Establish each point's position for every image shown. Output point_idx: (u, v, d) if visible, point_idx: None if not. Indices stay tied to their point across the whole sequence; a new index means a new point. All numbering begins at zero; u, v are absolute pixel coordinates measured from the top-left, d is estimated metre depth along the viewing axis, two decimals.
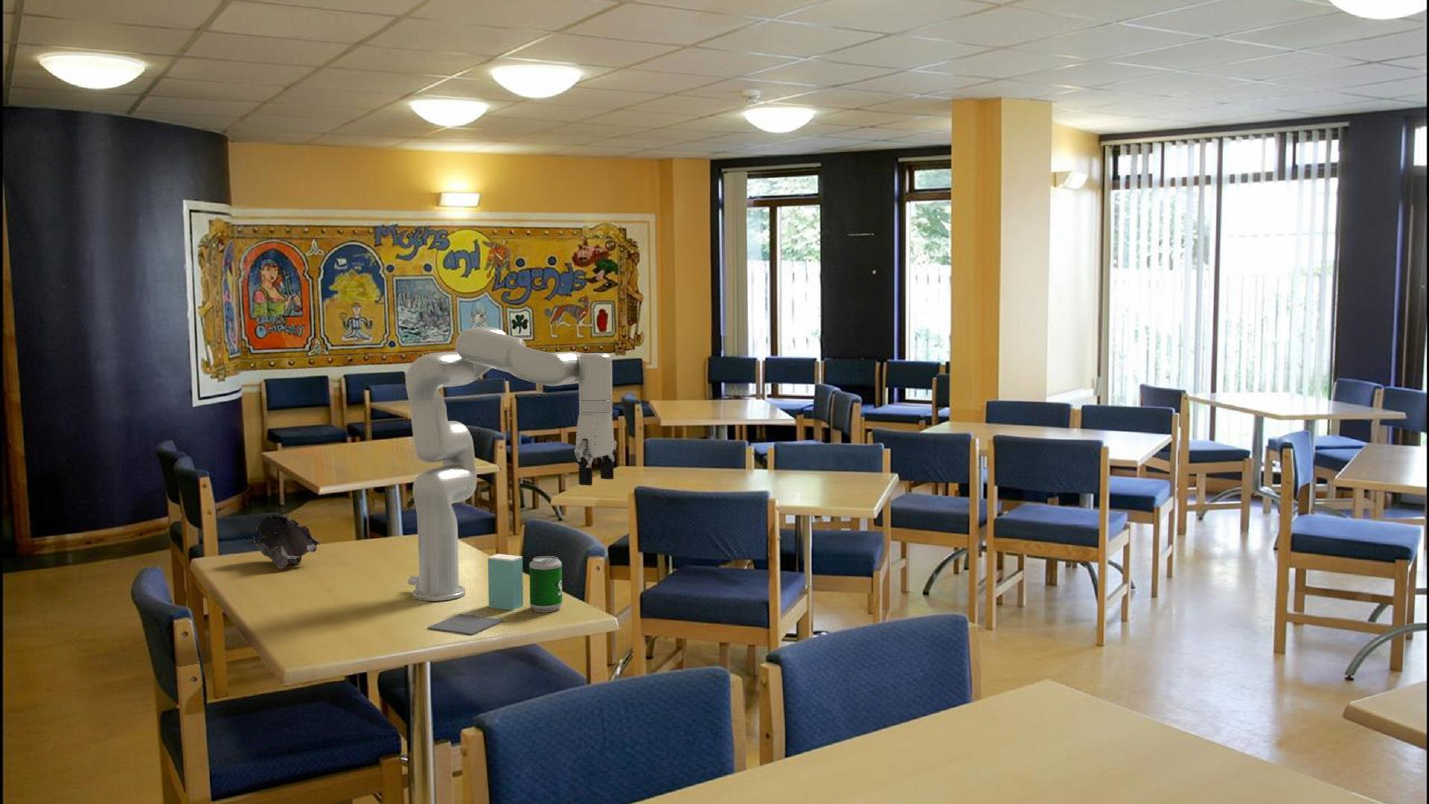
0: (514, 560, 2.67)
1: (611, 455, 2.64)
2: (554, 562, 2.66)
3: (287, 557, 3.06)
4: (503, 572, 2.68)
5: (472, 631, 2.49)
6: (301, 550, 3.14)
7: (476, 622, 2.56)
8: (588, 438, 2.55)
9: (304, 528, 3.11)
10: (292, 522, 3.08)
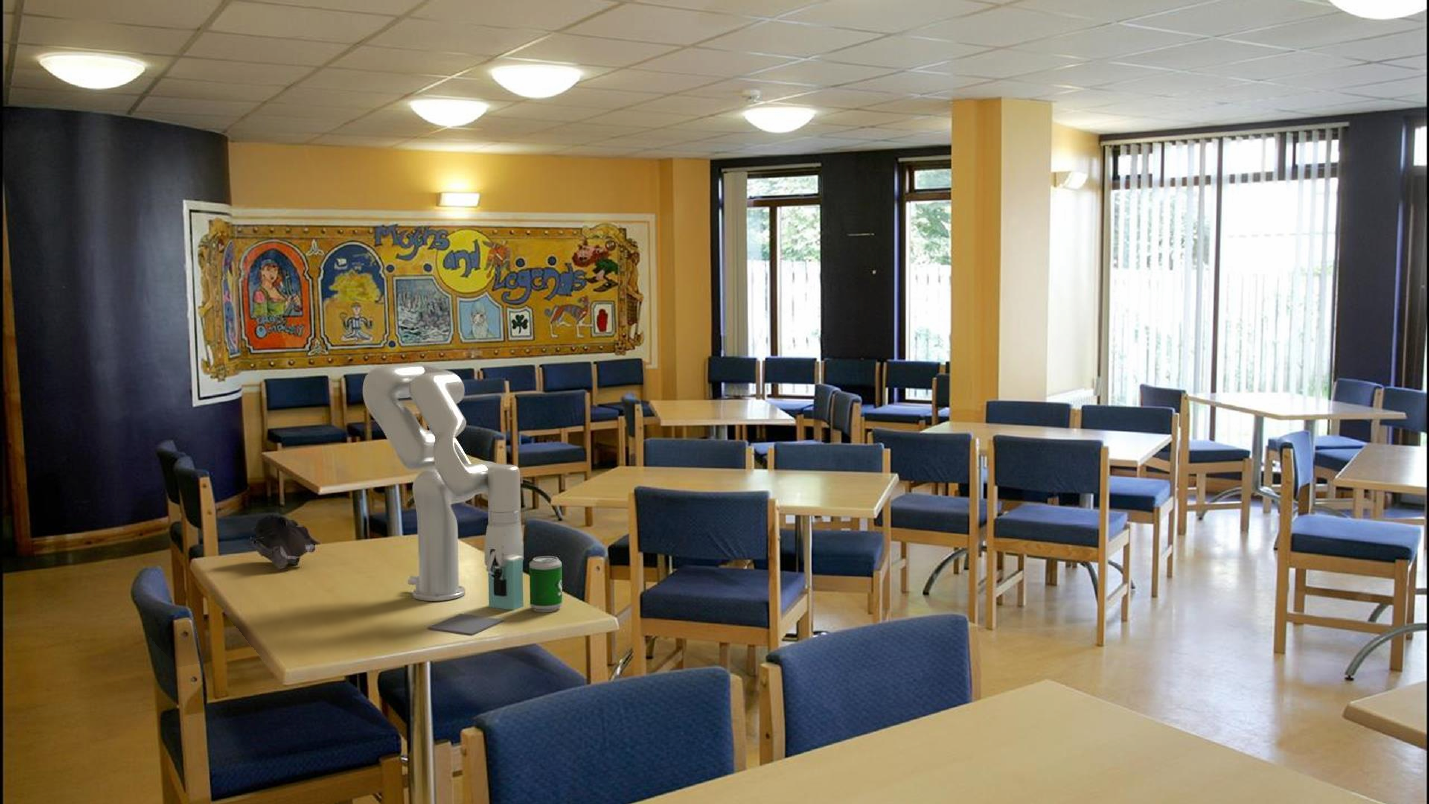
0: (514, 560, 2.67)
1: None
2: (554, 562, 2.66)
3: (287, 557, 3.06)
4: None
5: (472, 631, 2.49)
6: (299, 550, 3.13)
7: (476, 622, 2.56)
8: (496, 548, 2.65)
9: (303, 528, 3.10)
10: (291, 523, 3.08)
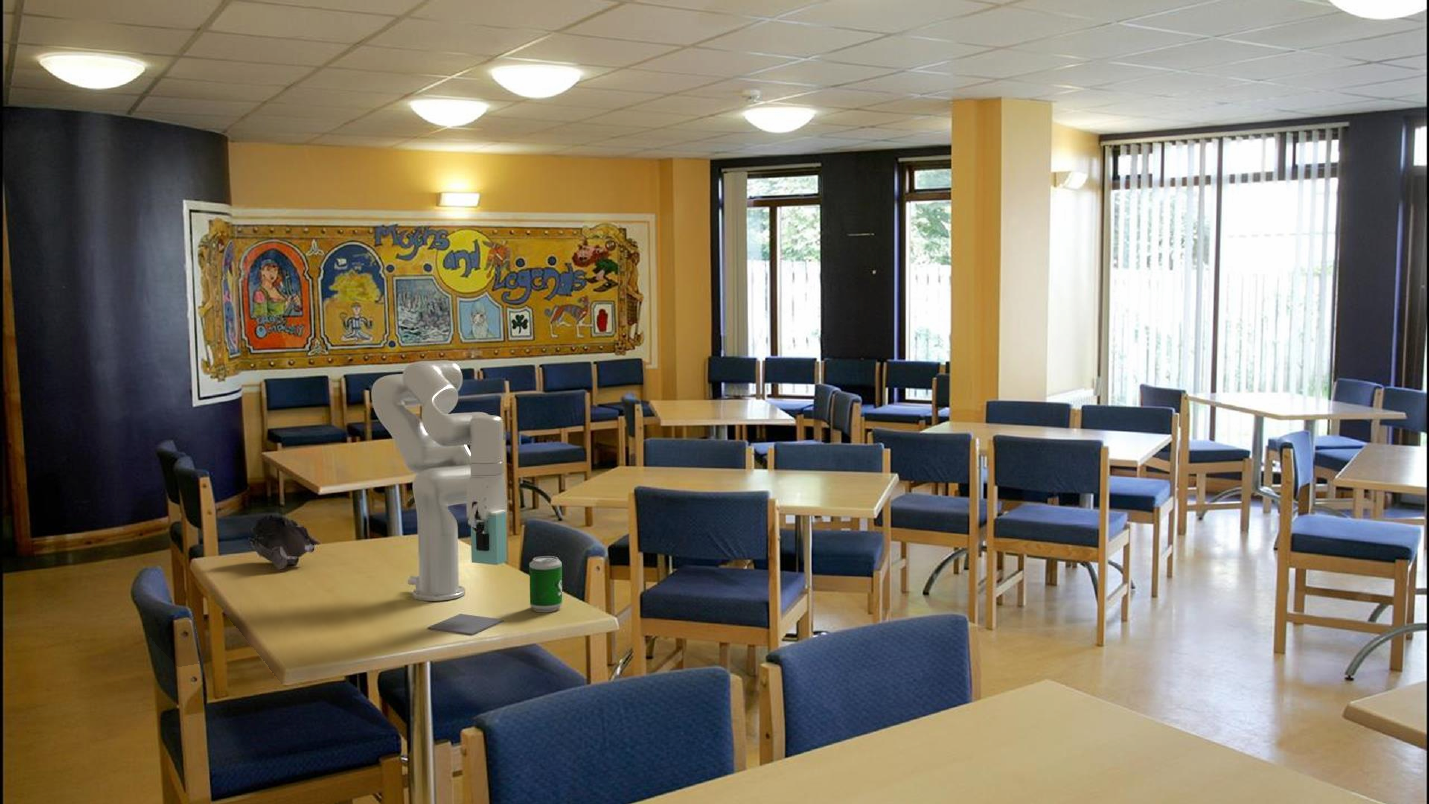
0: (497, 513, 2.58)
1: None
2: (554, 562, 2.66)
3: (286, 557, 3.06)
4: None
5: (472, 631, 2.49)
6: (299, 550, 3.13)
7: (476, 622, 2.56)
8: (478, 501, 2.56)
9: (302, 528, 3.10)
10: (290, 523, 3.08)
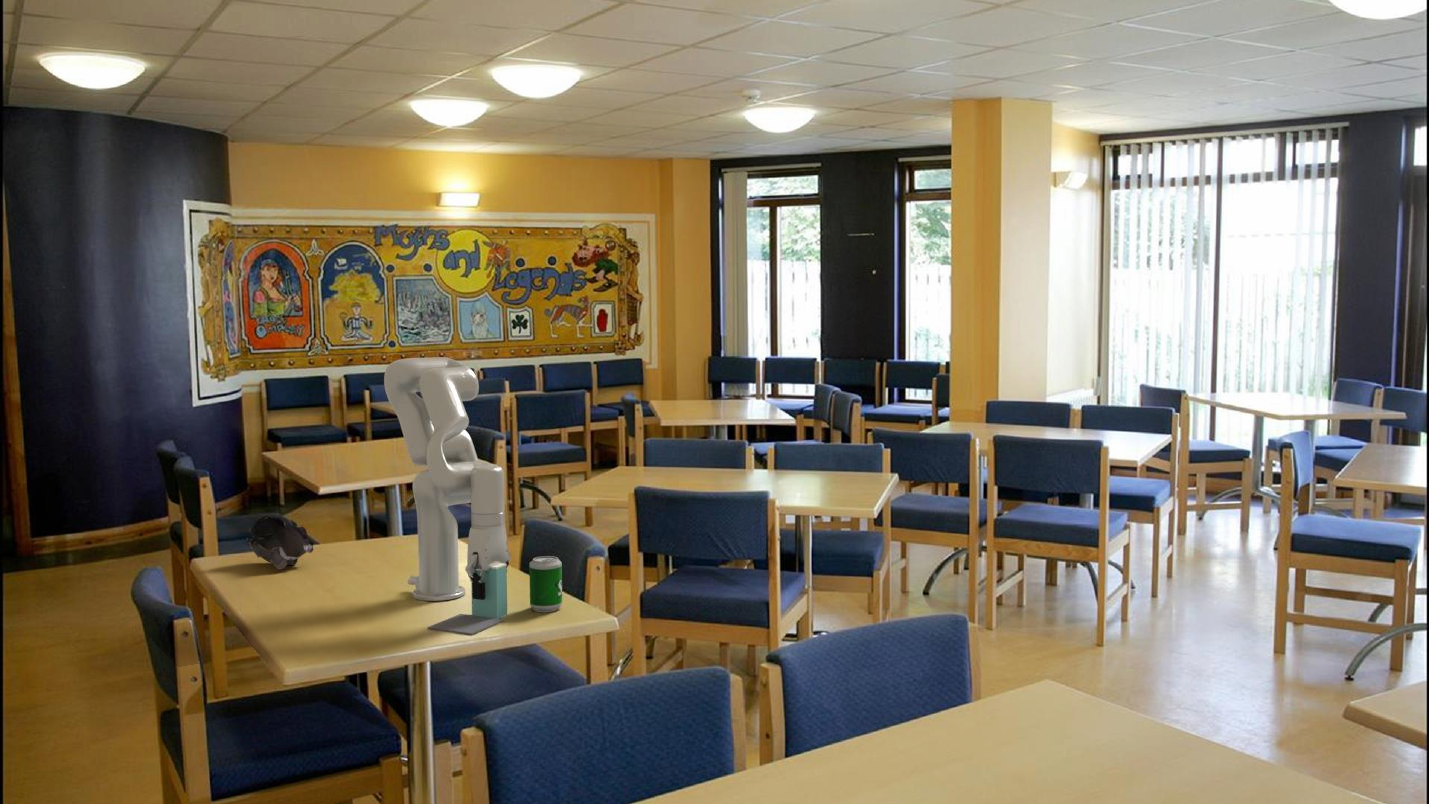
0: (498, 568, 2.60)
1: None
2: (554, 562, 2.66)
3: (286, 558, 3.05)
4: (486, 580, 2.60)
5: (472, 631, 2.49)
6: (297, 551, 3.13)
7: (476, 622, 2.56)
8: (479, 552, 2.57)
9: (301, 529, 3.10)
10: (290, 523, 3.07)
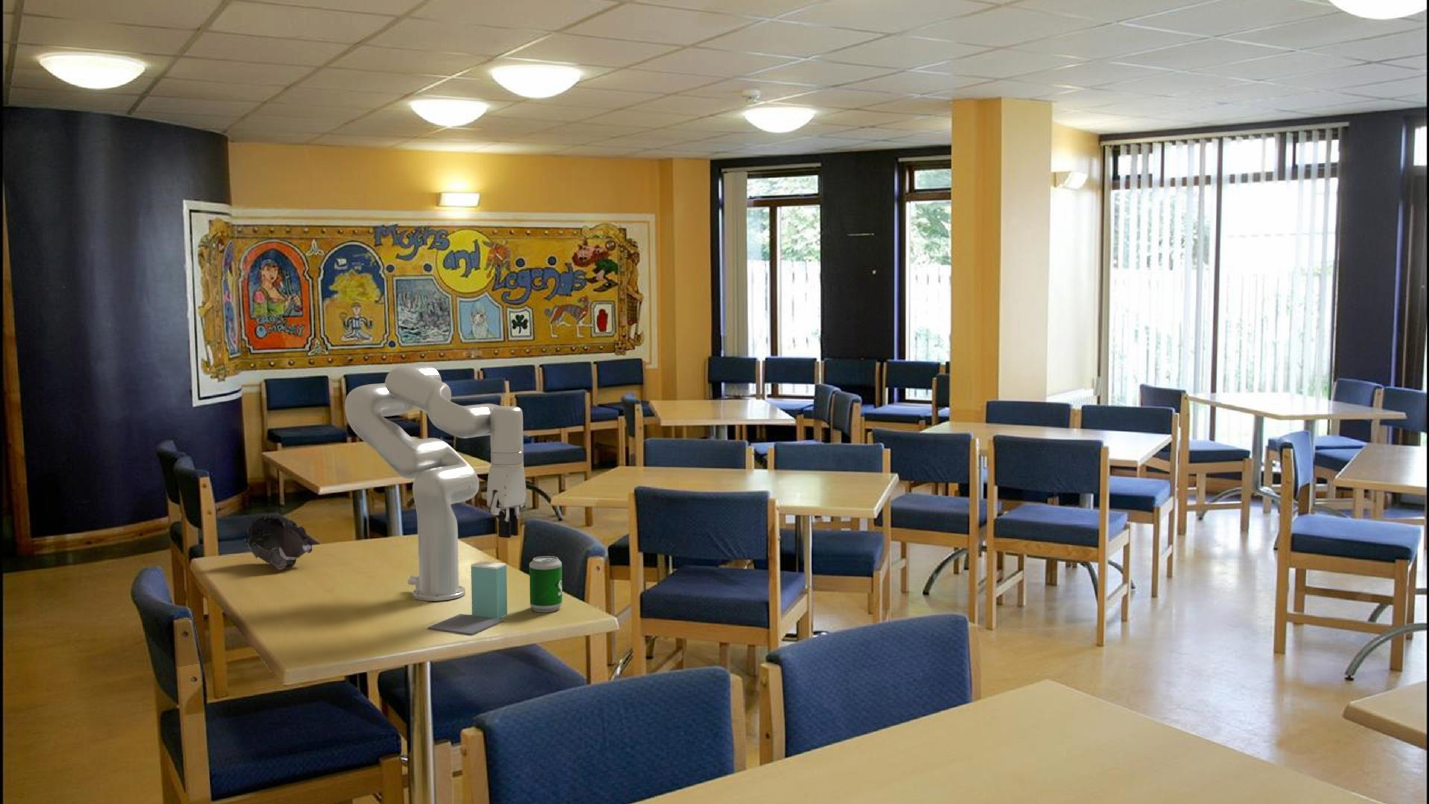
0: (498, 568, 2.60)
1: (517, 510, 2.70)
2: (554, 562, 2.66)
3: (286, 558, 3.05)
4: (486, 580, 2.60)
5: (472, 631, 2.49)
6: (296, 551, 3.12)
7: (476, 622, 2.56)
8: (498, 489, 2.63)
9: (301, 529, 3.10)
10: (289, 523, 3.07)
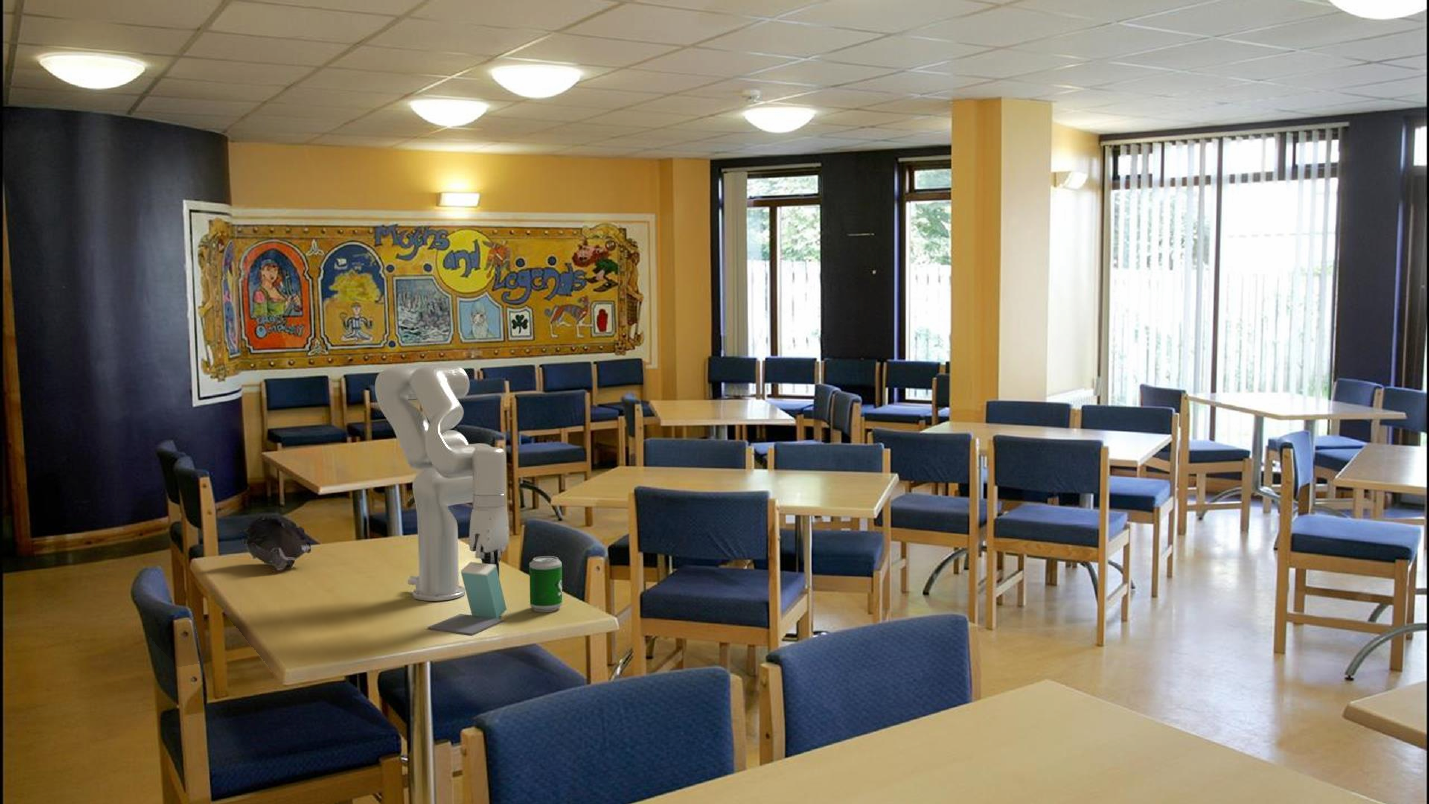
0: (488, 573, 2.56)
1: (499, 553, 2.63)
2: (554, 562, 2.66)
3: (285, 558, 3.05)
4: (479, 585, 2.58)
5: (472, 631, 2.49)
6: (295, 551, 3.12)
7: (476, 622, 2.56)
8: (481, 533, 2.57)
9: (300, 529, 3.09)
10: (289, 524, 3.07)
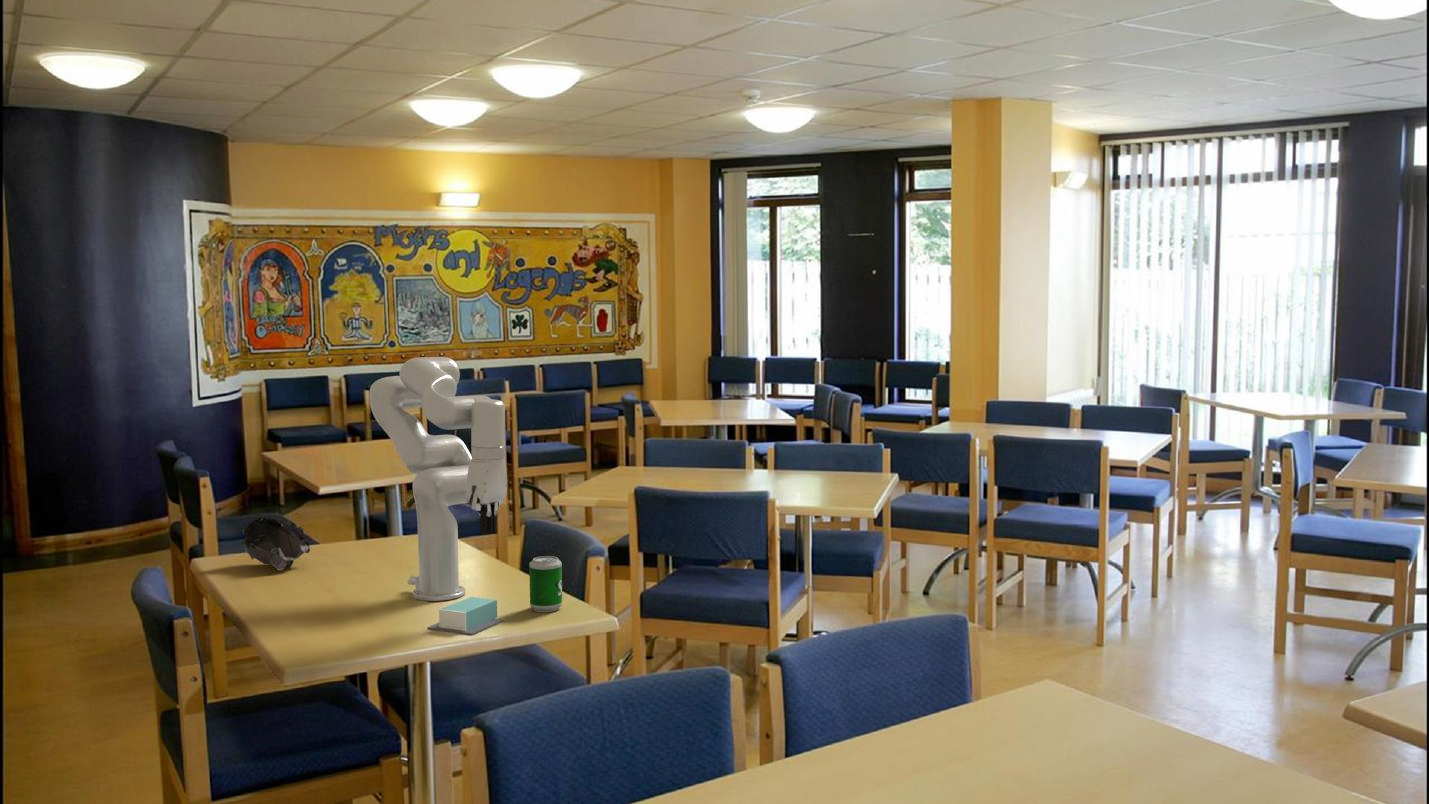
0: (465, 627, 2.49)
1: (496, 506, 2.63)
2: (554, 562, 2.66)
3: (285, 559, 3.04)
4: None
5: (472, 631, 2.49)
6: (294, 552, 3.12)
7: None
8: (478, 485, 2.56)
9: (299, 529, 3.09)
10: (288, 524, 3.06)
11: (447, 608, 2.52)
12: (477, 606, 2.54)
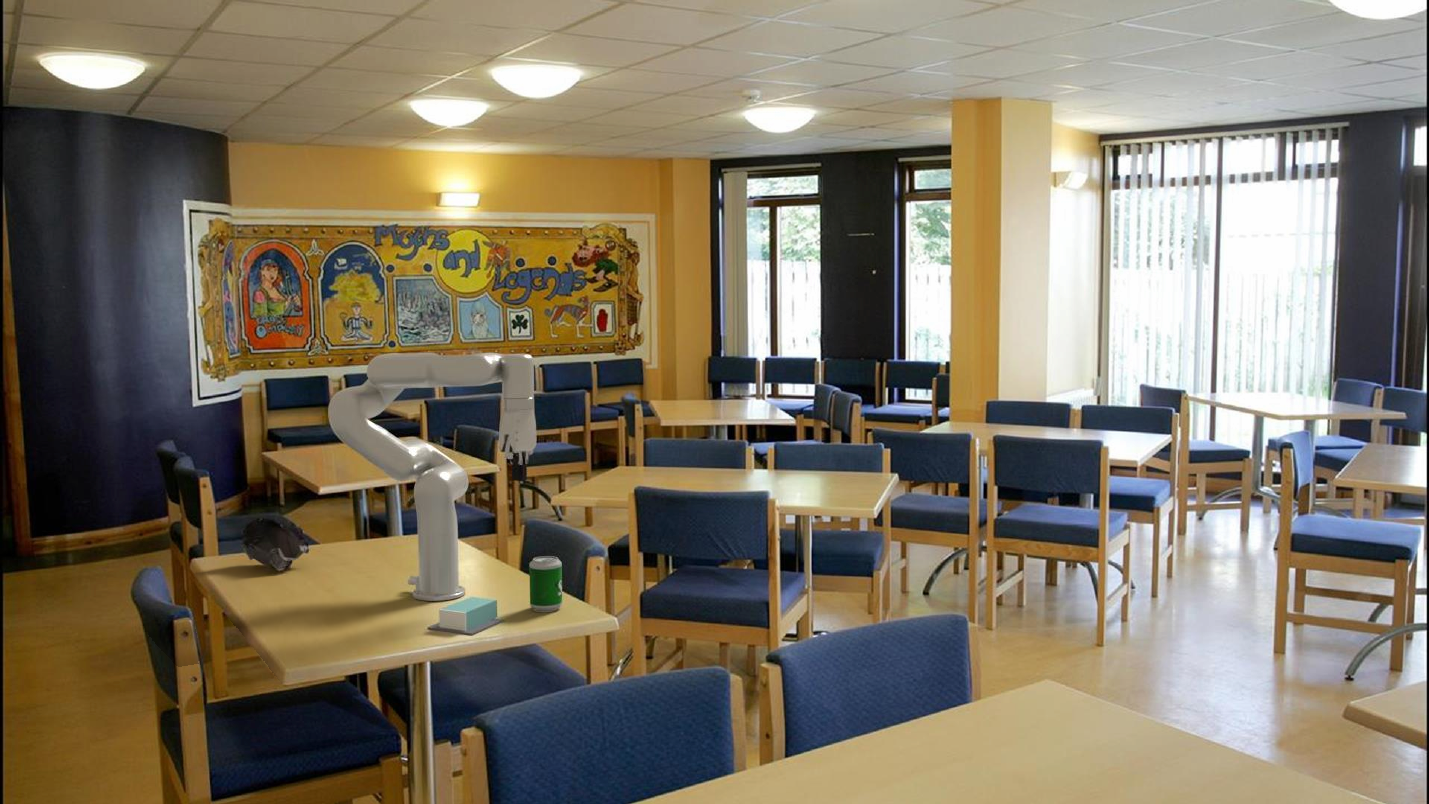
0: (465, 627, 2.49)
1: (527, 455, 2.76)
2: (554, 562, 2.66)
3: (285, 559, 3.04)
4: None
5: (472, 631, 2.49)
6: (293, 552, 3.11)
7: None
8: (510, 434, 2.70)
9: (298, 529, 3.09)
10: (288, 524, 3.06)
11: (447, 608, 2.52)
12: (477, 606, 2.54)
